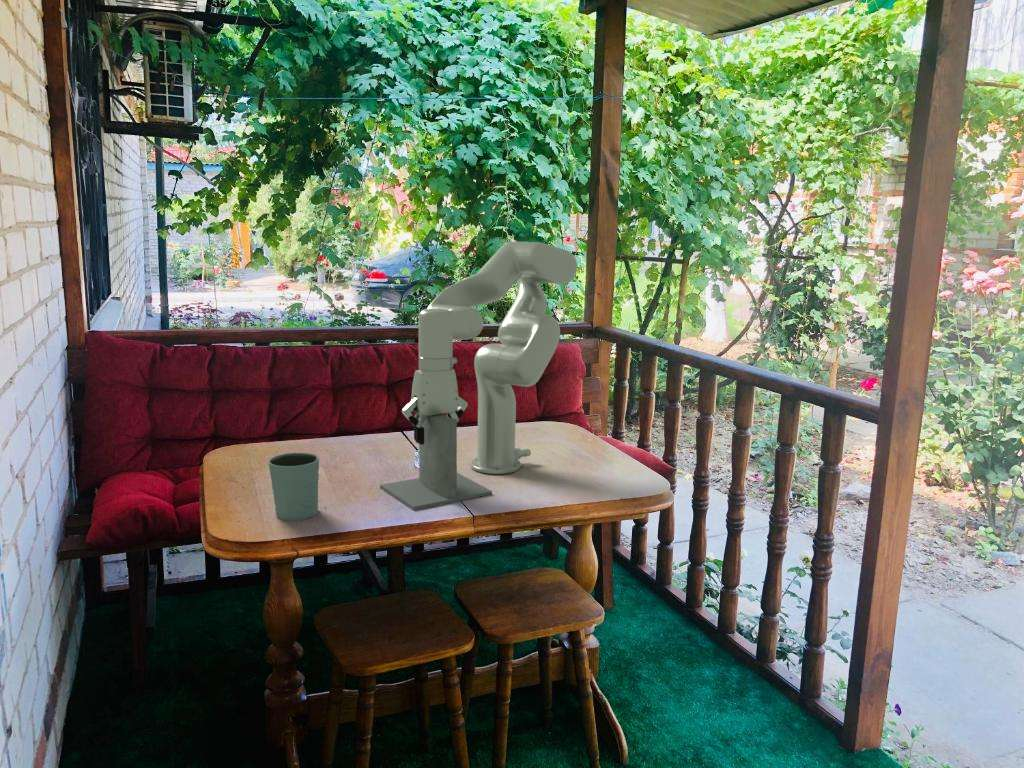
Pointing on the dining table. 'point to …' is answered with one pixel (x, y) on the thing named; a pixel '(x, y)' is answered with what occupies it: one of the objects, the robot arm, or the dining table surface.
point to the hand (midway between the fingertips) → (435, 440)
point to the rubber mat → (422, 497)
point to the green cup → (295, 485)
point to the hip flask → (439, 455)
